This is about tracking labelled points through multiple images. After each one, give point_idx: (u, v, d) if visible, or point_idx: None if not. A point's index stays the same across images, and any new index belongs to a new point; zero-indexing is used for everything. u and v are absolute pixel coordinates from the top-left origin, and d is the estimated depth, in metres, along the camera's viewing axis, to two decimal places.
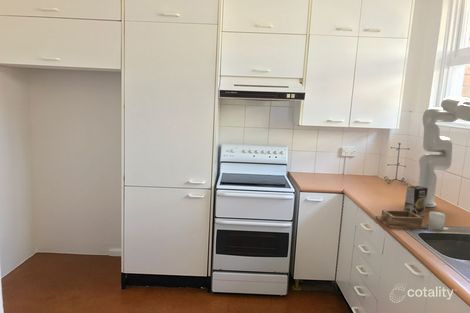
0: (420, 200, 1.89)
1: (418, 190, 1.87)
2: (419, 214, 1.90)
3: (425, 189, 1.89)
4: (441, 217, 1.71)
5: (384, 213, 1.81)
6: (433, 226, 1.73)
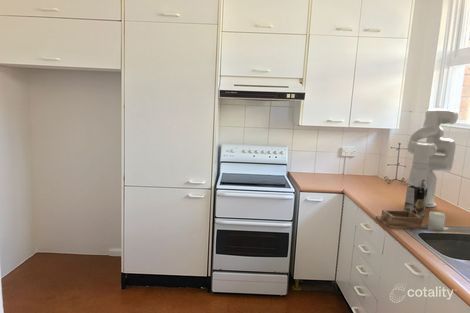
0: (420, 200, 1.89)
1: (418, 190, 1.87)
2: (419, 214, 1.90)
3: None
4: (441, 217, 1.71)
5: (384, 213, 1.81)
6: (433, 226, 1.73)
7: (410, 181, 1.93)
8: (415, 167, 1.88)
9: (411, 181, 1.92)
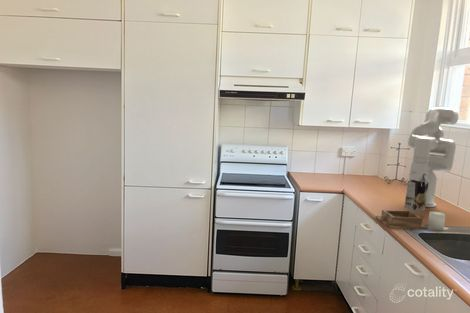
0: (421, 194, 1.89)
1: (419, 184, 1.87)
2: (420, 208, 1.90)
3: None
4: (441, 217, 1.71)
5: (384, 213, 1.81)
6: (433, 226, 1.73)
7: (411, 175, 1.92)
8: (416, 161, 1.87)
9: (412, 175, 1.91)
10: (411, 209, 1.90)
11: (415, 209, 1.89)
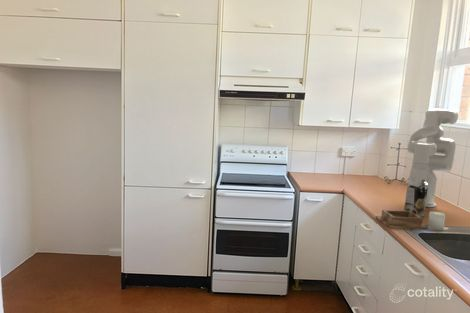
0: (420, 200, 1.89)
1: (418, 190, 1.87)
2: (419, 214, 1.91)
3: None
4: (441, 217, 1.71)
5: (384, 213, 1.81)
6: (433, 226, 1.73)
7: (410, 181, 1.93)
8: (415, 167, 1.88)
9: (411, 181, 1.92)
10: None
11: None
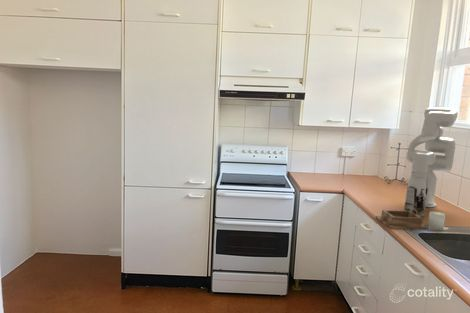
0: None
1: None
2: (419, 214, 1.91)
3: None
4: (441, 217, 1.71)
5: (384, 213, 1.81)
6: (433, 226, 1.73)
7: None
8: (414, 176, 1.88)
9: None
10: None
11: None
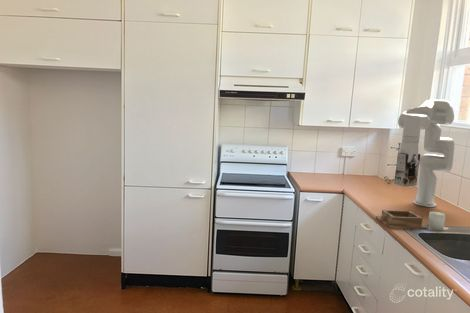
0: None
1: None
2: (411, 183, 1.73)
3: (418, 155, 1.72)
4: (441, 217, 1.71)
5: (384, 213, 1.81)
6: (433, 226, 1.73)
7: None
8: (405, 141, 1.71)
9: None
10: (401, 184, 1.73)
11: (406, 183, 1.72)
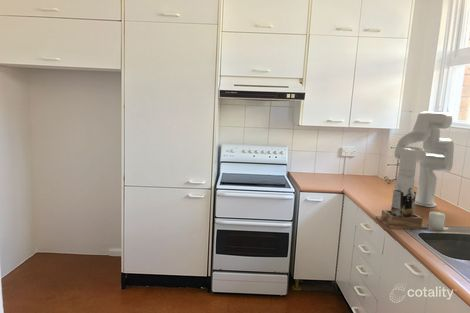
0: None
1: None
2: None
3: None
4: (441, 217, 1.71)
5: (384, 213, 1.81)
6: (433, 226, 1.73)
7: (396, 189, 1.78)
8: (401, 174, 1.73)
9: (397, 189, 1.77)
10: None
11: None
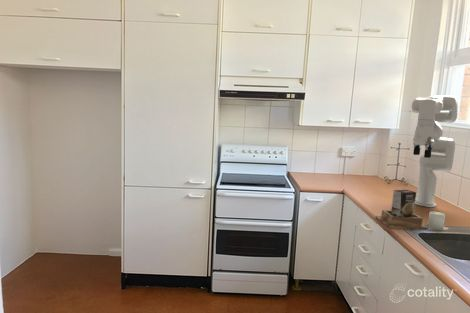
0: (407, 205, 1.74)
1: (405, 194, 1.73)
2: None
3: (413, 193, 1.75)
4: (441, 217, 1.71)
5: (384, 213, 1.81)
6: (433, 226, 1.73)
7: (415, 140, 1.82)
8: (421, 124, 1.77)
9: (416, 140, 1.81)
10: None
11: None
